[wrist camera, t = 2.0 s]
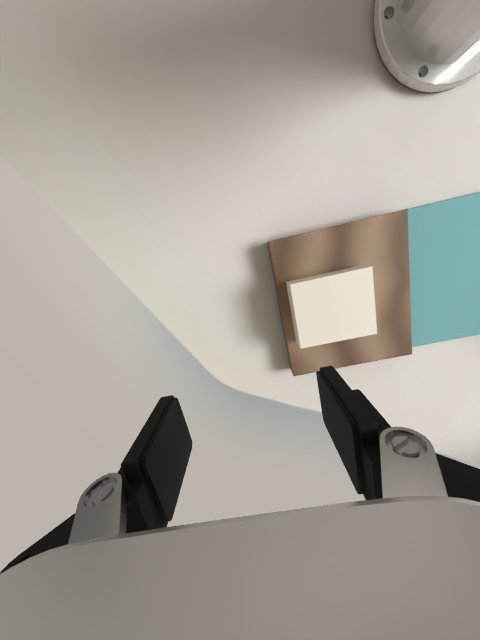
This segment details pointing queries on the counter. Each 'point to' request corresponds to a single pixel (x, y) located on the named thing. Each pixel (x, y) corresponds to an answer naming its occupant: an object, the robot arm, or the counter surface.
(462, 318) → the mat
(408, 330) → the board
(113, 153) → the counter surface
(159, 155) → the counter surface
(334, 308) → the block
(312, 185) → the counter surface
